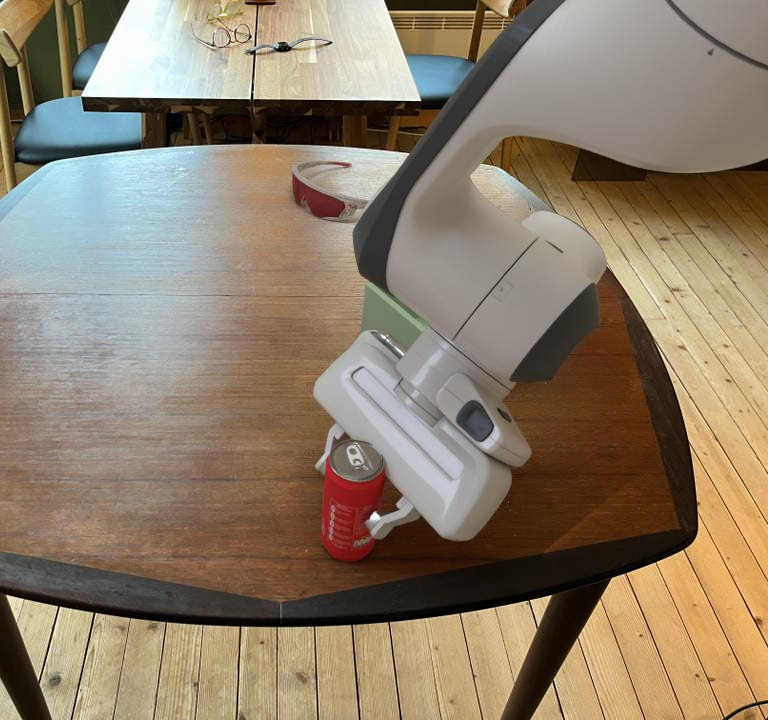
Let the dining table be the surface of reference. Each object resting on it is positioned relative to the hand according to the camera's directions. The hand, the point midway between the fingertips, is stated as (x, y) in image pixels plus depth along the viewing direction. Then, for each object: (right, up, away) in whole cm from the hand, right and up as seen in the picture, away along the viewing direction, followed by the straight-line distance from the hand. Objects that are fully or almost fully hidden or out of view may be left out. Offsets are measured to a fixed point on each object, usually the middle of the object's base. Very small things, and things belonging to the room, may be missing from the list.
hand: (346, 502), depth 65 cm
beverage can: (0, -5, +5) cm, 7 cm away
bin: (+15, +13, +25) cm, 32 cm away
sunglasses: (+4, +39, +55) cm, 68 cm away
